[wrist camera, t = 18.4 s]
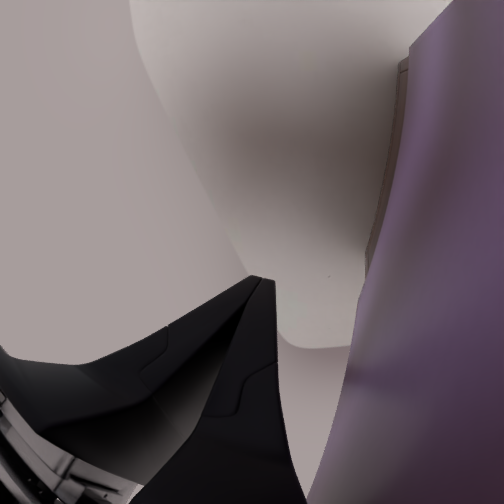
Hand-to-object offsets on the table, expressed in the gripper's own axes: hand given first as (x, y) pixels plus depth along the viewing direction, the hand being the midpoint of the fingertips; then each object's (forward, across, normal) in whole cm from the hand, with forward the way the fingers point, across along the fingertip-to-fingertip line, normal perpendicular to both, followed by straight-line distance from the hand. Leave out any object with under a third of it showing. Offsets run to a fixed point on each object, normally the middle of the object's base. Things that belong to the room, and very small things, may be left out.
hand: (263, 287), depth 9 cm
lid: (-1, -5, -2) cm, 5 cm away
